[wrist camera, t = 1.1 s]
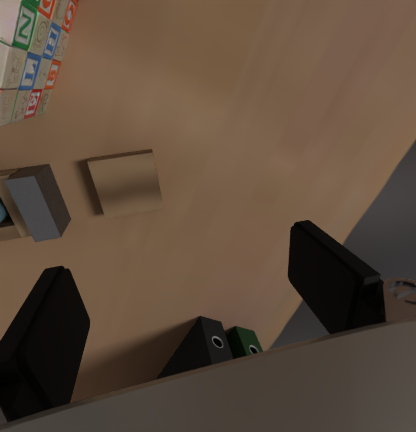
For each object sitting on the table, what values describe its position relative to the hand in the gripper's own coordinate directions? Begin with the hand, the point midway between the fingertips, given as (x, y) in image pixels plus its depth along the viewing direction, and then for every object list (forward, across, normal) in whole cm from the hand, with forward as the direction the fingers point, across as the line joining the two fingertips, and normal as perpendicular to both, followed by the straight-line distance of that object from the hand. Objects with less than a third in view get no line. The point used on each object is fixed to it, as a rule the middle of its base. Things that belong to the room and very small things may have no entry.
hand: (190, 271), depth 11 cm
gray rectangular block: (+27, +16, +4) cm, 31 cm away
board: (+27, +5, +3) cm, 28 cm away
